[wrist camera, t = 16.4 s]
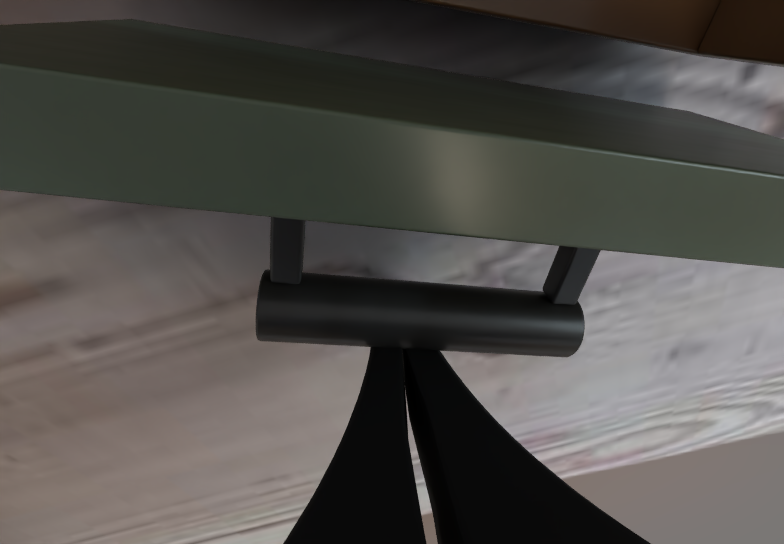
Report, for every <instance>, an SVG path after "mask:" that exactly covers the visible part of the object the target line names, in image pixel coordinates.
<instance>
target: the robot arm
mask: <svg viewBox="0 0 784 544" xmlns="http://www.w3.org/2000/svg"><path fill="white" fill-rule="evenodd" d="M402 353H403V354H402ZM403 367H404V368H403ZM405 390H406V396H405ZM406 397H407V404H408V411H409V417H410V422H411V426H412V430H413V435H414V439H415V443H416V447H417V451H418V455H419V459H420V463H421V466H422V470H423V474H424V478H425V482H426V486H427V490H428V494H429V498H430V503H431V508H432V512H433V517H434V522H435V529H436V535H437V541H438V544H650V543H649V542H647V541H646V540H644V539H643V538H641V537H640V536H638V535H637V534H635V533H634V532H632V531H631V530H629V529H628V528H626V527H625V526H623V525H622V524H621V523H619V522H618V521H616V520H615V519H613V518H612V517H611V516H609V515H608V514H606V513H605V512H603V511H602V510H601V509H599V508H598V507H597V506H595V505H594V504H593V503H591V502H590V501H589V500H587V499H586V498H584V497H583V496H582V495H580V494H579V493H578V492H576V491H575V490H574V489H572V488H571V487H570V486H569V485H567V484H566V483H565V482H564V481H563V480H562V479H560V478H559V477H558V476H557V475H555V474H554V473H553V472H552V471H551V470H549V469H548V468H547V467H546V466H545V465H543V464H542V463H541V462H540V461H538V460H537V459H536V458H535V457H534V456H533V455H532V454H530V453H529V452H528V451H527V450H526V449H525V448H524V447H523V446H522V445H521V444H520V443H518V442H517V441H516V440H515V439H514V438H513V437H512V436H511V435H510V434H509V433H508V432H507V431H506V430H505V429H504V428H503V427H502V426H501V425H500V424H499V423H498V422H497V421H496V420H495V419H494V418H493V417H492V416H491V415H490V413H489V412H488V411H487V410H486V409H485V408H484V407H483V406H482V405H481V403H480V402H479V401H478V400H477V399H476V398H475V397H474V395H473V394H472V393H471V392H470V391H469V389H468V388H467V387H466V386H465V384H464V383H463V382H462V380H461V379H460V378H459V377H458V375H457V374H456V373H455V371H454V370H453V369H452V367H451V366H450V365H449V363H448V362H447V360H446V359H445V358H444V356H443V355H442V353H441V352H440V351H439V350H421V349H402V348H383V347H371V350H370V356H369V361H368V365H367V369H366V373H365V376H364V380H363V383H362V387H361V390H360V393H359V396H358V399H357V402H356V405H355V407H354V410H353V413H352V415H351V418H350V421H349V423H348V426H347V428H346V430H345V433H344V435H343V437H342V440H341V442H340V444H339V446H338V448H337V450H336V453H335V455H334V457H333V459H332V461H331V463H330V465H329V467H328V469H327V471H326V472H325V474H324V476H323V478H322V480H321V482H320V484H319V486H318V488H317V489H316V491H315V493H314V495H313V496H312V498H311V500H310V502H309V503H308V505H307V507H306V508H305V510H304V511H303V513H302V515H301V516H300V518H299V520H298V521H297V523H296V524H295V526H294V528H293V529H292V531H291V532H290V534H289V536H288V537H287V539H286V540H285V542H284V543H283V544H426V539H425V534H424V528H423V523H422V517H421V511H420V506H419V500H418V494H417V489H416V483H415V477H414V471H413V465H412V459H411V453H410V447H409V441H408V426H407V410H406Z"/></svg>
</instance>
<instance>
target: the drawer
mask: <svg viewBox="0 0 784 544" xmlns="http://www.w3.org/2000/svg"><path fill="white" fill-rule="evenodd" d="M408 1H414V2H419V3H424V4H429V5H435V6H440V7H445V8H450V9H455V10H461V11H466V12H471V13H476V14H482V15H487V16H492V17H497V18H503V19H508V20H513V21H518V22H524V23H529V24H534V25H539V26H545V27H550V28H555V29H560V30H566V31H571V32H576V33H581V34H586V35H592V36H597V37H602V38H607V39H613V40H618V41H623V42H628V43H634V44H639V45H644V46H649V47H655V48H660V49H665V50H670V51H676V52H681V53H686V54H691V55H696V56H703V57H710V58H718V59H726V60H733V61H741V62H748V63H756V64H764V65H771V66H779V67H784V0H408ZM0 190H8V191H18V192H28V193H38V194H48V195H58V196H68V197H78V198H88V199H98V200H108V201H118V202H128V203H138V204H148V205H158V206H168V207H178V208H188V209H198V210H208V211H218V212H228V213H238V214H248V215H258V216H268V217H271V230H270V270H265V271H264V272H263V274H262V277H261V280H260V285H259V290H258V298H257V307H256V336H257V339H258V340H259V341H271V342H290V343H308V344H327V345H346V346H364V347H383V348H402V349H421V350H439V351H458V352H477V353H495V354H514V355H533V356H552V357H569V356H571V355H573V354H574V353H575V352H576V351H577V350H578V349H579V347H580V345H581V343H582V340H583V336H584V326H585V325H584V315H583V311H582V308H581V306H580V304H579V302H578V301H577V300H578V298H579V296H580V294H581V292H582V289H583V287H584V285H585V283H586V281H587V279H588V276H589V274H590V272H591V270H592V268H593V266H594V263H595V261H596V259H597V257H598V255H599V253H600V251H601V250H607V251H617V252H627V253H637V254H647V255H657V256H667V257H677V258H687V259H697V260H707V261H717V262H727V263H737V264H747V265H757V266H767V267H777V268H784V139H781V138H778V137H774V136H771V135H767V134H764V133H761V132H757V131H754V130H751V129H747V128H744V127H740V126H737V125H734V124H730V123H727V122H723V121H720V120H717V119H713V118H710V117H706V116H703V115H700V114H696V113H693V112H689V111H684V110H678V109H672V108H666V107H660V106H654V105H648V104H642V103H636V102H630V101H624V100H618V99H612V98H605V97H599V96H593V95H587V94H581V93H575V92H569V91H563V90H557V89H551V88H545V87H539V86H533V85H527V84H521V83H515V82H509V81H503V80H497V79H491V78H485V77H479V76H473V75H466V74H460V73H454V72H448V71H442V70H436V69H430V68H424V67H418V66H412V65H406V64H400V63H394V62H388V61H382V60H376V59H370V58H364V57H358V56H352V55H346V54H340V53H334V52H327V51H321V50H315V49H309V48H303V47H297V46H291V45H285V44H279V43H273V42H267V41H261V40H255V39H249V38H243V37H237V36H231V35H225V34H219V33H213V32H207V31H201V30H195V29H188V28H182V27H176V26H170V25H164V24H158V23H152V22H146V21H140V20H134V19H123V20H101V21H79V22H57V23H35V24H12V25H0ZM306 220H308V221H318V222H328V223H338V224H348V225H358V226H368V227H378V228H388V229H398V230H408V231H417V232H427V233H437V234H447V235H457V236H467V237H477V238H487V239H497V240H507V241H517V242H527V243H537V244H547V245H557V246H559V249H558V251H557V254H556V256H555V258H554V261H553V263H552V266H551V268H550V271H549V273H548V276H547V278H546V281H545V283H544V286H543V291H544V292H541V291H528V290H516V289H503V288H491V287H478V286H466V285H453V284H441V283H429V282H416V281H404V280H391V279H379V278H366V277H354V276H341V275H329V274H316V273H304V272H302V271H303V258H304V240H305V222H306Z"/></svg>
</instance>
